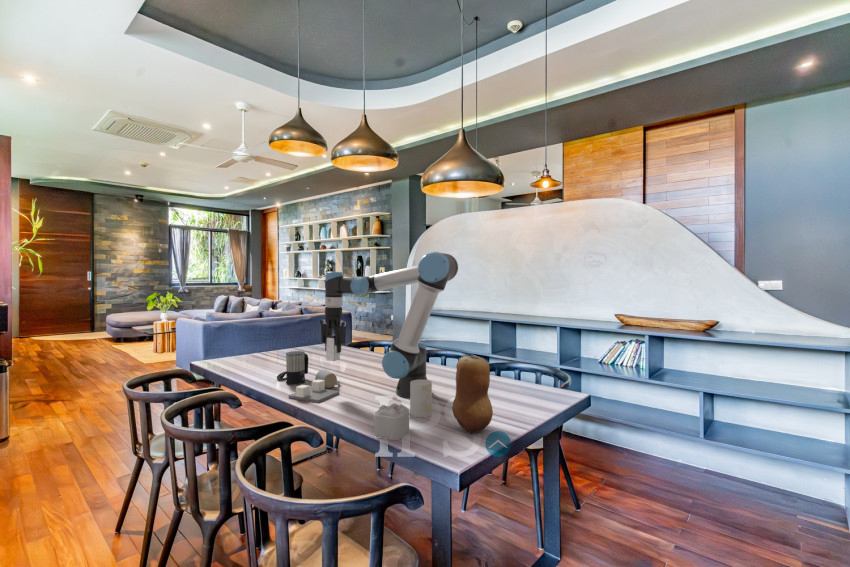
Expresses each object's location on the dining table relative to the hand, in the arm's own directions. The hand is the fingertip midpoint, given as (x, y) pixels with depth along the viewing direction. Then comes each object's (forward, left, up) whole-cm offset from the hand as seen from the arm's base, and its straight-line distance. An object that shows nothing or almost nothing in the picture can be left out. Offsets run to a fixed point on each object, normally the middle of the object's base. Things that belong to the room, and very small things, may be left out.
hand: (332, 359), depth 184 cm
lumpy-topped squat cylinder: (-47, +28, -16) cm, 56 cm away
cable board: (+5, +6, -15) cm, 17 cm away
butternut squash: (-70, +15, -16) cm, 73 cm away
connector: (0, 0, 0) cm, 0 cm away
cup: (-47, +7, -16) cm, 50 cm away
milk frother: (+32, -8, -16) cm, 37 cm away
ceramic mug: (+10, -9, -16) cm, 20 cm away
